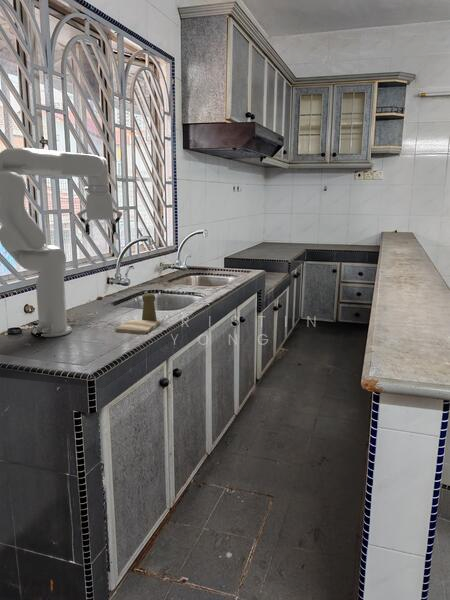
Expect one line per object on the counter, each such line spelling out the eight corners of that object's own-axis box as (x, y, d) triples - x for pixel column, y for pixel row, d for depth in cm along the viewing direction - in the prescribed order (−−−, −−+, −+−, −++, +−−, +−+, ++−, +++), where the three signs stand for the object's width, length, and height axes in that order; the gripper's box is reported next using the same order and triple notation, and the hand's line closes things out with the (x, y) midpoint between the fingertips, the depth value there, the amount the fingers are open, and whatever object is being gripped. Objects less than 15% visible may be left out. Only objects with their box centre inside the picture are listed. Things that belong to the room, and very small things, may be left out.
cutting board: (146, 334, 177) (146, 330, 176) (115, 331, 179) (115, 328, 179) (159, 324, 190) (159, 321, 190) (131, 322, 193) (131, 319, 192)
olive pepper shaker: (145, 318, 199) (145, 291, 196) (159, 319, 197) (158, 292, 195) (138, 321, 193) (138, 294, 191) (152, 323, 191) (152, 295, 189)
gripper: (74, 190, 185) (77, 235, 189) (121, 190, 188) (123, 234, 192) (76, 190, 192) (79, 233, 196) (121, 190, 195) (123, 233, 199)
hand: (101, 234), depth 194 cm, fingers open, 9 cm apart
